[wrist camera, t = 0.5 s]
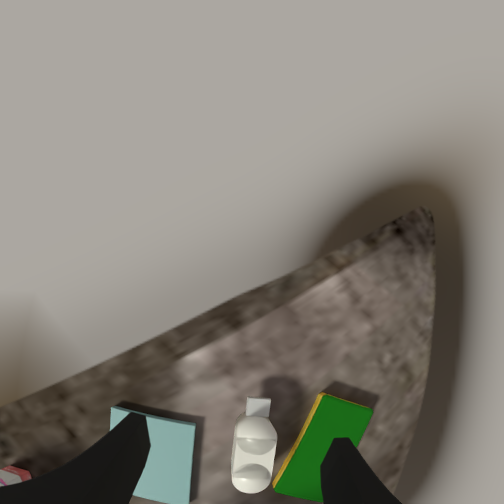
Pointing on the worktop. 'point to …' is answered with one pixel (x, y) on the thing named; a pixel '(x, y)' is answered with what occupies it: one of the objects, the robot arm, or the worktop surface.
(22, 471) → the ink cartridge box
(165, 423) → the teal mat
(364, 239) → the worktop surface
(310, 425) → the dish sponge
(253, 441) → the white rounded piece
